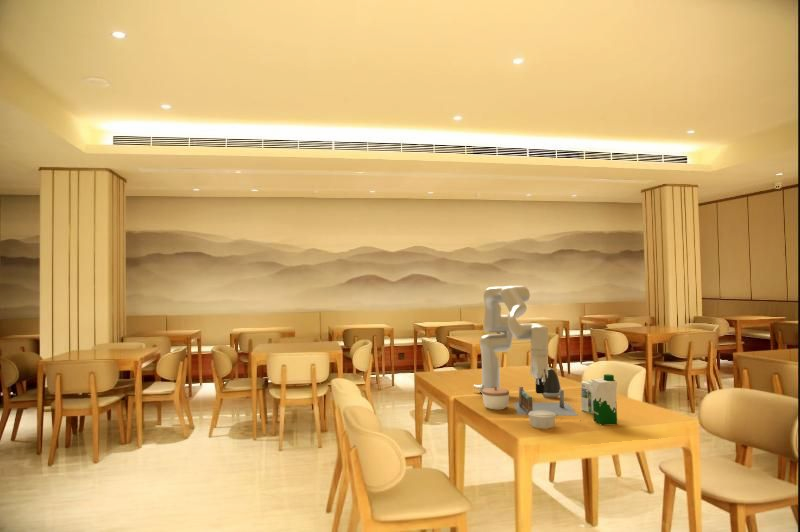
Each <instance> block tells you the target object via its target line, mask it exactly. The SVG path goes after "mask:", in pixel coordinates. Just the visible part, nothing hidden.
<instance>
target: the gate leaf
mask: <svg viewBox="0 0 800 532" xmlns="http://www.w3.org/2000/svg"><path fill="white" fill-rule="evenodd" d="M532 402H533V396H531V395H529V394H528V393H527V392H526V391H525V390H524V389H523V390H520V405H521V407H522V408H523V409H524V410H525V411H526V412H527V413H529V412H530V411H533V408H532Z"/></svg>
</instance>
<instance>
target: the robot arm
mask: <svg viewBox="0 0 800 532" xmlns="http://www.w3.org/2000/svg"><path fill="white" fill-rule="evenodd" d="M530 297H531V294H530V290H529V289H528V287H526V286H525V285H508V286H489V287H486V289H485V290H484V293H483V302H484V315H483V317H484V319H483V328H484V331H485V332H486V333H488V334H484V335H482V336H481V337H480V339H479V347H480V353H481V354H480V355H481V384H478V385H477V384H473V389H476V390H479V393H480V392H481V393H482V390H483V389H486V388H494V386H497V388H501V369H500V363H501V361H500V358H499V356H498V355H497V354H496V353H498V352H507V351H510V349H511V348H512V344H513V337H514V339H516V340H519V341H520V340H522V341H523V340H525V341H526V340H530V367H529V368H530V369H529V370H530V371H529V375H530V376H531V377H533V378H534V382H535V393H536V394H538V395H539V394H542V393H544V382H546V380H545V379H547V378H548V369H549V366H548V365H549V364H548V362H549V361H548V357H549V328H548V326H546V325H545V324H544V325H542V324H540V323H537V322H532V323H531V322H528V323H527V322H526V323H525V322H523V323H519V322H518V321H517V319H518V318H520V317H521V316H523V315H524V314H525V313H526V311H527V309H528V308H527V307H528V306H527V305H526V302H528V301H529V300H530ZM501 303H503V304H504V305H505V307H506V308H507V309H508V311H509V314H502V313H501V312H502V307H501ZM489 333H490V334H489ZM481 393H480V394H481Z"/></svg>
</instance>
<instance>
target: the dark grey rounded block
mask: <svg viewBox="0 0 800 532" xmlns="http://www.w3.org/2000/svg"><path fill="white" fill-rule="evenodd" d="M545 380H546V382H544V393H541V395H542V396H543V397H544V398H545V399H547V398H548V399H552V398H553V399H558V398H560V396H559V390H562V389H561V382H560V379H559V377H558V374H557V372H556V370H555V369H553V368H552V367H550V368H549V367H548V378H547V379H545Z"/></svg>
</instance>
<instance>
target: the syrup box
mask: <svg viewBox="0 0 800 532" xmlns="http://www.w3.org/2000/svg"><path fill="white" fill-rule="evenodd" d="M580 389H581V390H580V392H581V394H580V395H581V396H580V397H581V404H580V405H581V412H584V413H587V414H593V387H592V380H583V381H581V382H580Z"/></svg>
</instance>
